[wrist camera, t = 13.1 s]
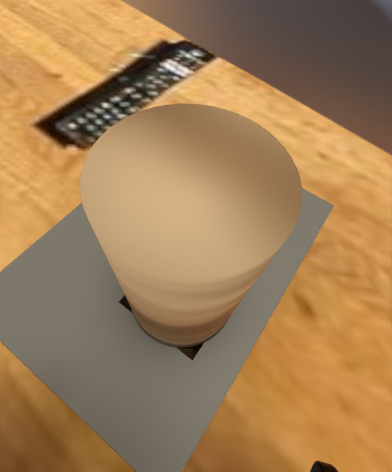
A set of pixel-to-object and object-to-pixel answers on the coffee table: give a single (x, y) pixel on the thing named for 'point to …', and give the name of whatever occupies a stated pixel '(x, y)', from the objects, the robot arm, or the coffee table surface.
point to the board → (131, 341)
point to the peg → (189, 213)
